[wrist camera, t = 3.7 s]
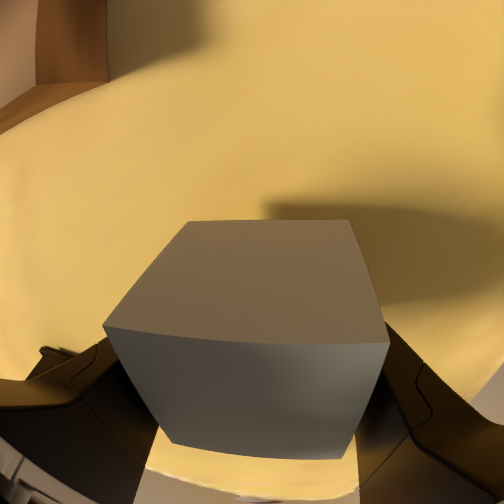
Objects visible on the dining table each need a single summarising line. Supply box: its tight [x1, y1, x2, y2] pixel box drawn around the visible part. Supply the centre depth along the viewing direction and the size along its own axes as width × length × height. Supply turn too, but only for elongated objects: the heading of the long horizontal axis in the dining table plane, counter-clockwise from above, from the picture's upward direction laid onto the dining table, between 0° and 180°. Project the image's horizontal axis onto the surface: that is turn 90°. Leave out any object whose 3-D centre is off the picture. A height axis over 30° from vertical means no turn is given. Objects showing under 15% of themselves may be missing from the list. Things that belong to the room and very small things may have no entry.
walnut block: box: [0, 0, 109, 134], centre depth 6 cm, size 10×10×4 cm
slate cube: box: [102, 219, 390, 460], centre depth 8 cm, size 5×5×5 cm
